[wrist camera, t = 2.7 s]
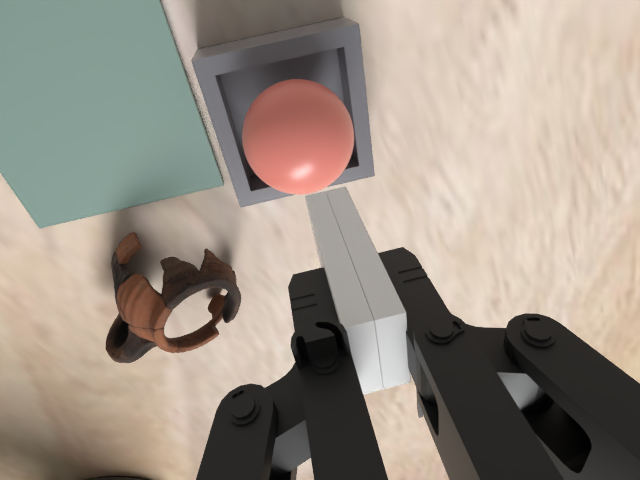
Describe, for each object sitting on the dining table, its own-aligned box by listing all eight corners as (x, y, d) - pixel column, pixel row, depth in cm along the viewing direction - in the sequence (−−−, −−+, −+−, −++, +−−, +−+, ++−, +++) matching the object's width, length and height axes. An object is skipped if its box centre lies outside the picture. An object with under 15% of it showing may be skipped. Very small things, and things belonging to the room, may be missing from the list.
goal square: (42, 224, 30) (39, 228, 30) (-116, -4, 22) (-123, -4, 21) (224, 182, 31) (223, 185, 30) (140, -57, 22) (138, -58, 22)
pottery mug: (142, 196, 31) (189, 258, 26) (224, 233, 39) (272, 286, 34) (54, 315, 32) (85, 395, 27) (152, 328, 40) (189, 391, 35)
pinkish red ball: (256, 177, 27) (260, 226, 22) (228, 81, 24) (225, 112, 19) (347, 156, 28) (372, 199, 22) (333, 57, 24) (359, 82, 19)
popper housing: (240, 182, 31) (240, 207, 28) (197, 48, 26) (191, 60, 22) (360, 154, 31) (374, 175, 28) (343, 16, 26) (359, 23, 23)
